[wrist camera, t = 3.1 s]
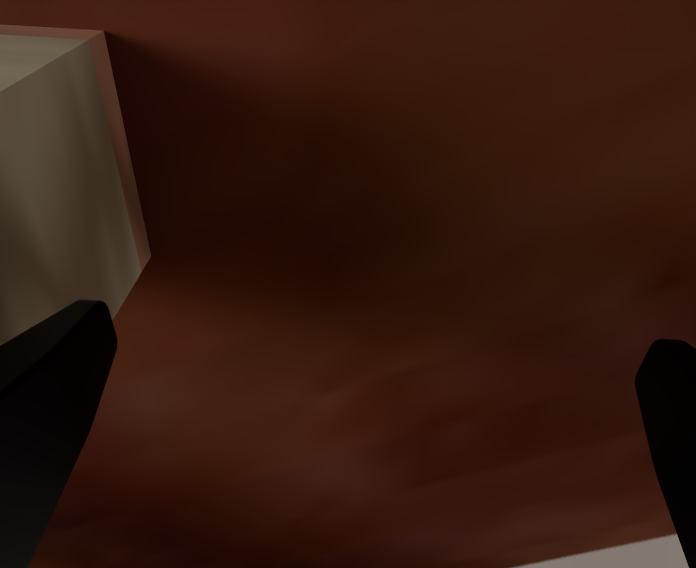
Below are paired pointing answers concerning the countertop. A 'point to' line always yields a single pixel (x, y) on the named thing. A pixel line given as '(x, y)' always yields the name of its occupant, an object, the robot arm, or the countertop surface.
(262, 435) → the countertop surface
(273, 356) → the countertop surface
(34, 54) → the birch block
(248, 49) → the countertop surface
